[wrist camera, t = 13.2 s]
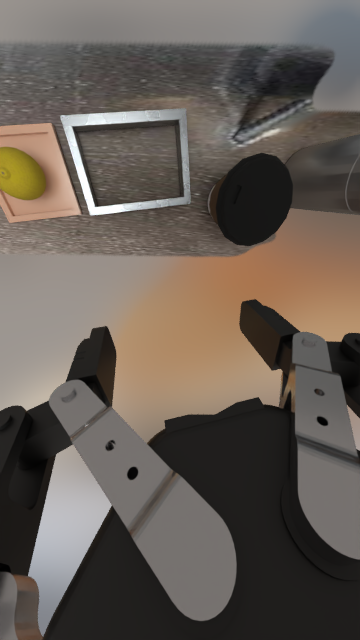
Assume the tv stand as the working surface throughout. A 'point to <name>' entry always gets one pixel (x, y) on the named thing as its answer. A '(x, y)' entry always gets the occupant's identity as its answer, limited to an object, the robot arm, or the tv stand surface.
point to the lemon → (20, 174)
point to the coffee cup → (252, 199)
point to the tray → (49, 156)
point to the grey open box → (128, 121)
